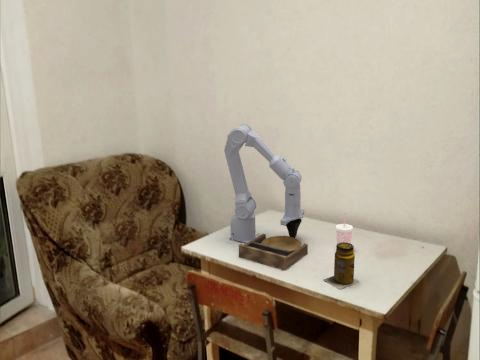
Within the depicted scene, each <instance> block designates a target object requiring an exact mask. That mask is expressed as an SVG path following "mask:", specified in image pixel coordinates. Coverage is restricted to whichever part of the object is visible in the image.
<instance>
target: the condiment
mask: <svg viewBox="0 0 480 360" xmlns="http://www.w3.org/2000/svg"><path fill="white" fill-rule="evenodd" d="M335 247H336V248H335V252H334V263H333V265H334V266H333V271H334V272H333V275H332V276H330V277H327V278H324V279H323V281H324V282H327V283H328V284H330V285H332V287H335V288H336V289H339V290H342V289H345V288H347V287H350V286H352V285H355V284H357V283H359V282H360V280H358V279H356V278H354V277H355V255H356V254H355V252H354V251H355V250H354V249H355V247H354V245H353V244H352V243H351V244H350V243H346V242H342V243H338V244H337V243H336V246H335Z"/></svg>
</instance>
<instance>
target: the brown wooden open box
mask: <svg viewBox="0 0 480 360" xmlns="http://www.w3.org/2000/svg"><path fill="white" fill-rule="evenodd" d="M266 238H267V237H266V233H261V234H260V235H259V236H258V237H256V238H255V239H253V240H251V241H249V242H248V243H245V244H242V243H240V244H238V258H240V259H241V258H242V259H245V260H248V261H251V262H255V263H258V264H263V265H265V266H270V267H273V268H275V269H276V268H277V269H279V270H280V269H281V270H283V271H286V270H287V269H289V268H290V267H292V266H293V265H294V264H295V263H297V262H298V261H299V260H301V259H302V258H303V257H305V256H306V255H307V254H308V253H309V252H308V251H309V250H308V247H309V244H308V243H304V244H303V243H302V245H301V247H299V248H298V249H296V250H295V251H294V252H292V253H291V254H289V255H288V256H284V255H280V254H276V253H272V252H269V251H265V250H261V249H257V248H253V247H251V242H256V243H260V244H261V242H262V241H263V240H264V239H266Z"/></svg>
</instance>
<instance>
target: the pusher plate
mask: <svg viewBox="0 0 480 360" xmlns="http://www.w3.org/2000/svg"><path fill="white" fill-rule="evenodd" d="M251 247H253V248H257V249H261V250H265V251H269V252H272V253H276V254H280V255H284V256H288V255H289V254H290V251H287V250H283V249H279V248H275V247H272V246H268V245H264V244H260V243H256V242H251Z"/></svg>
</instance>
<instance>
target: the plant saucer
mask: <svg viewBox="0 0 480 360" xmlns="http://www.w3.org/2000/svg"><path fill="white" fill-rule="evenodd" d="M261 244H264V245H268V246H272V247H275V248H279V249H283V250H287V251H290V254H291V253H292V252H294V251H295V250H296V249H298V248H299V247H301V246H302V245H303V243H302V241H301V240H300V239H298V238H297V237H296V238H294V237H289V236H288V235H274V236H269V237H266V239H264V240H263V241H262V242H261Z"/></svg>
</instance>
